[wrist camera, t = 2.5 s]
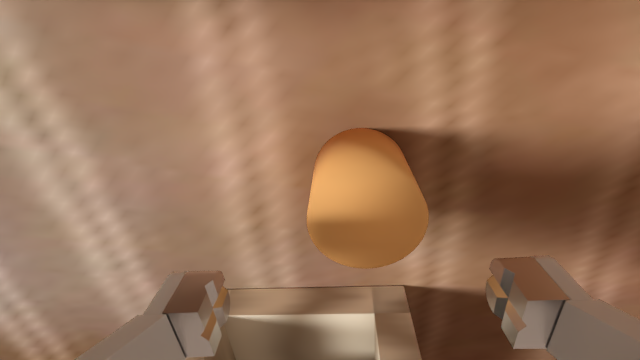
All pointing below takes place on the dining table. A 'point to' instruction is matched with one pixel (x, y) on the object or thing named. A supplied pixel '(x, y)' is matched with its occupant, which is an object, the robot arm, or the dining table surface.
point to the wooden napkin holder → (318, 325)
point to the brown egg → (365, 201)
